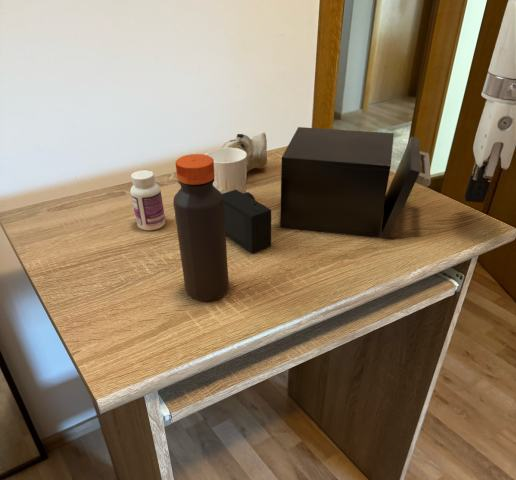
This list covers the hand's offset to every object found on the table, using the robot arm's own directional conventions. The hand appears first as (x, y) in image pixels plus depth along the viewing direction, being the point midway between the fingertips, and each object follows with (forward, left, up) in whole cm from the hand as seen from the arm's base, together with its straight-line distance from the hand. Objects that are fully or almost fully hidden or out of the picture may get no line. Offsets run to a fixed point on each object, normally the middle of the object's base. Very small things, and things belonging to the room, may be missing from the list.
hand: (473, 199), depth 87 cm
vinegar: (+41, +30, -5) cm, 51 cm away
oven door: (+13, 0, -5) cm, 14 cm away
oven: (+25, 0, -5) cm, 25 cm away
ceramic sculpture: (+48, -15, -5) cm, 50 cm away
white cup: (+46, +1, -5) cm, 46 cm away
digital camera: (+39, +13, -5) cm, 41 cm away
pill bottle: (+58, +12, -5) cm, 59 cm away
